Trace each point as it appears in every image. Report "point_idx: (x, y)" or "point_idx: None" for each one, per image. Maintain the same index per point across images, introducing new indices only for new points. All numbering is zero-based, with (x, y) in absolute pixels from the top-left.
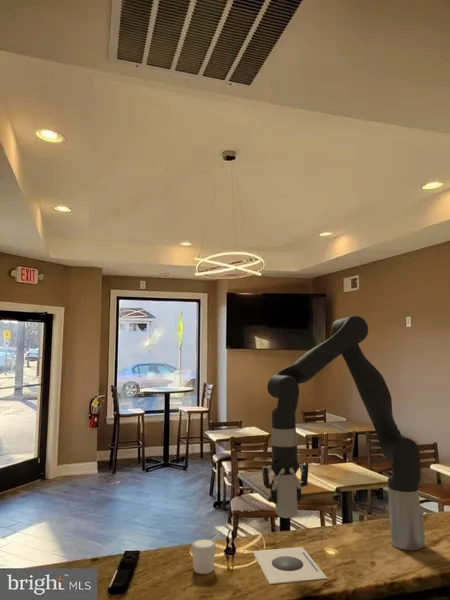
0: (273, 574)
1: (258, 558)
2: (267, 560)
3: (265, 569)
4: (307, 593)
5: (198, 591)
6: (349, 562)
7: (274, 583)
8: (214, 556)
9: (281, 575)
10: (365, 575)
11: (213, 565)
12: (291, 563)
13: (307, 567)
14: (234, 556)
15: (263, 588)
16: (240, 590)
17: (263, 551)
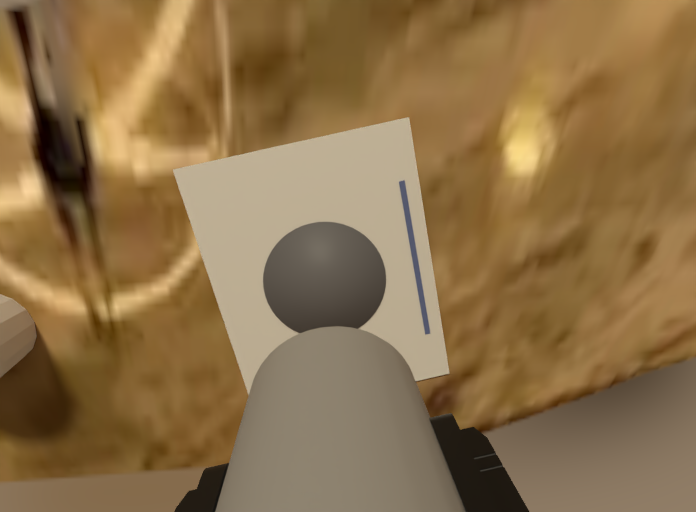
0: None
1: (206, 242)
2: (245, 260)
3: (239, 331)
4: None
5: (29, 465)
6: (562, 251)
7: None
8: (2, 352)
9: None
10: (578, 341)
11: (25, 345)
12: (341, 283)
13: (397, 308)
14: (97, 214)
15: None
16: (165, 451)
17: (224, 172)
